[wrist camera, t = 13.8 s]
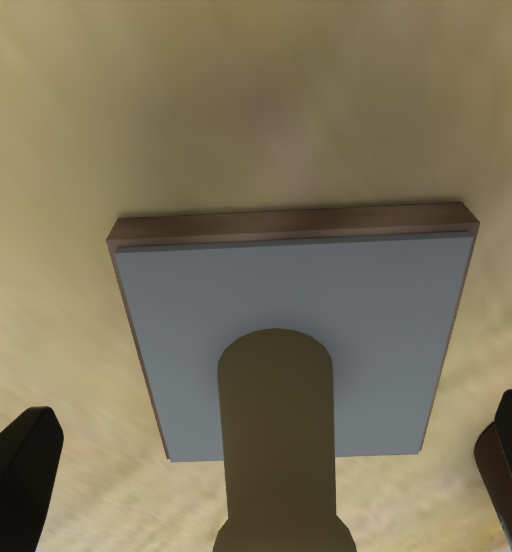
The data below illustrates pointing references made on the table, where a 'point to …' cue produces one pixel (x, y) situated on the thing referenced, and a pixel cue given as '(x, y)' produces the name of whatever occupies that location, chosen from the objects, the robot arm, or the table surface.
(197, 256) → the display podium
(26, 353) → the table surface
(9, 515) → the robot arm
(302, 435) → the brown rounded upright piece
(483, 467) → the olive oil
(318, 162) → the table surface
